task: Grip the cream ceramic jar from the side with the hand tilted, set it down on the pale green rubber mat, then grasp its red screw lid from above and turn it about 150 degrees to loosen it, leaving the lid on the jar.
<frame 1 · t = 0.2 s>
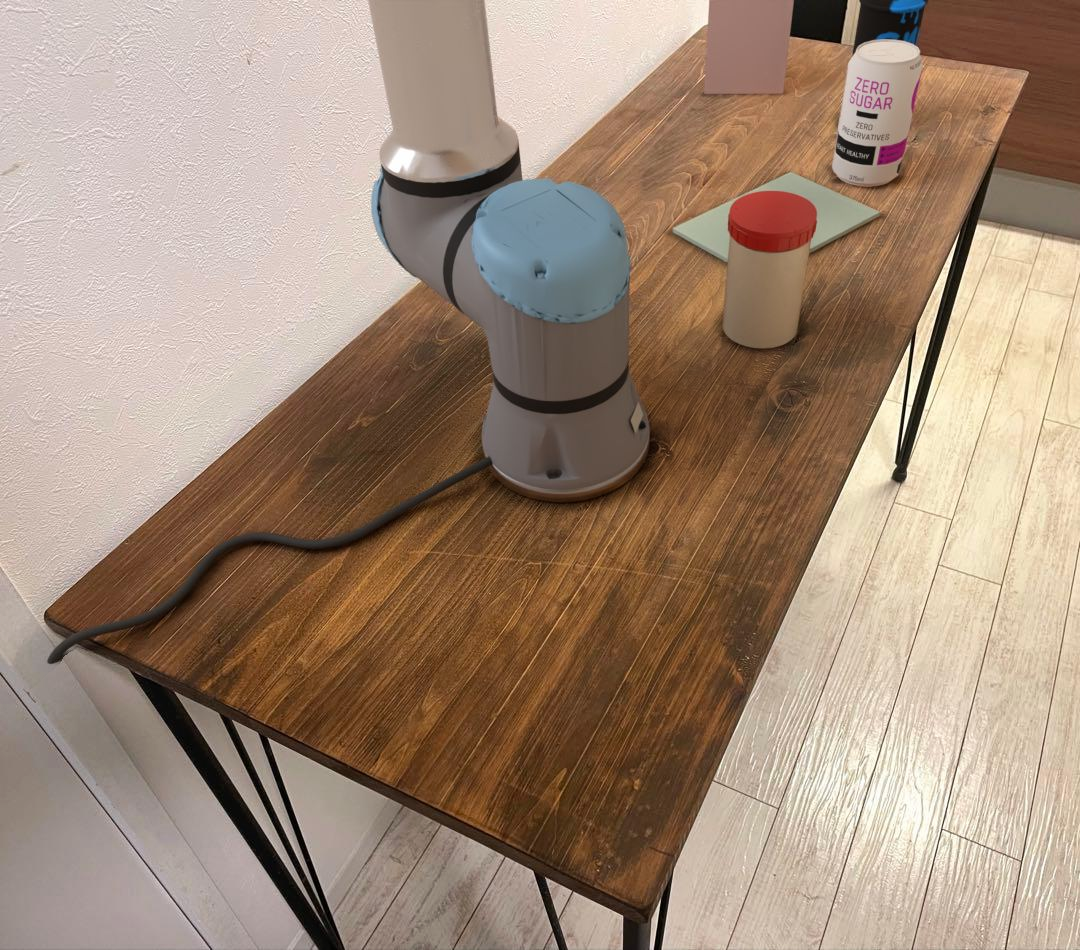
white soda can: (864, 174, 116), on the table
greeting card: (739, 92, 136), on the table
mat: (775, 224, 108), on the table
jar: (759, 326, 95), on the table
aerosol can: (870, 123, 126), on the table
lid: (772, 216, 86), point 13 cm above the table, screwed on, not yet turned
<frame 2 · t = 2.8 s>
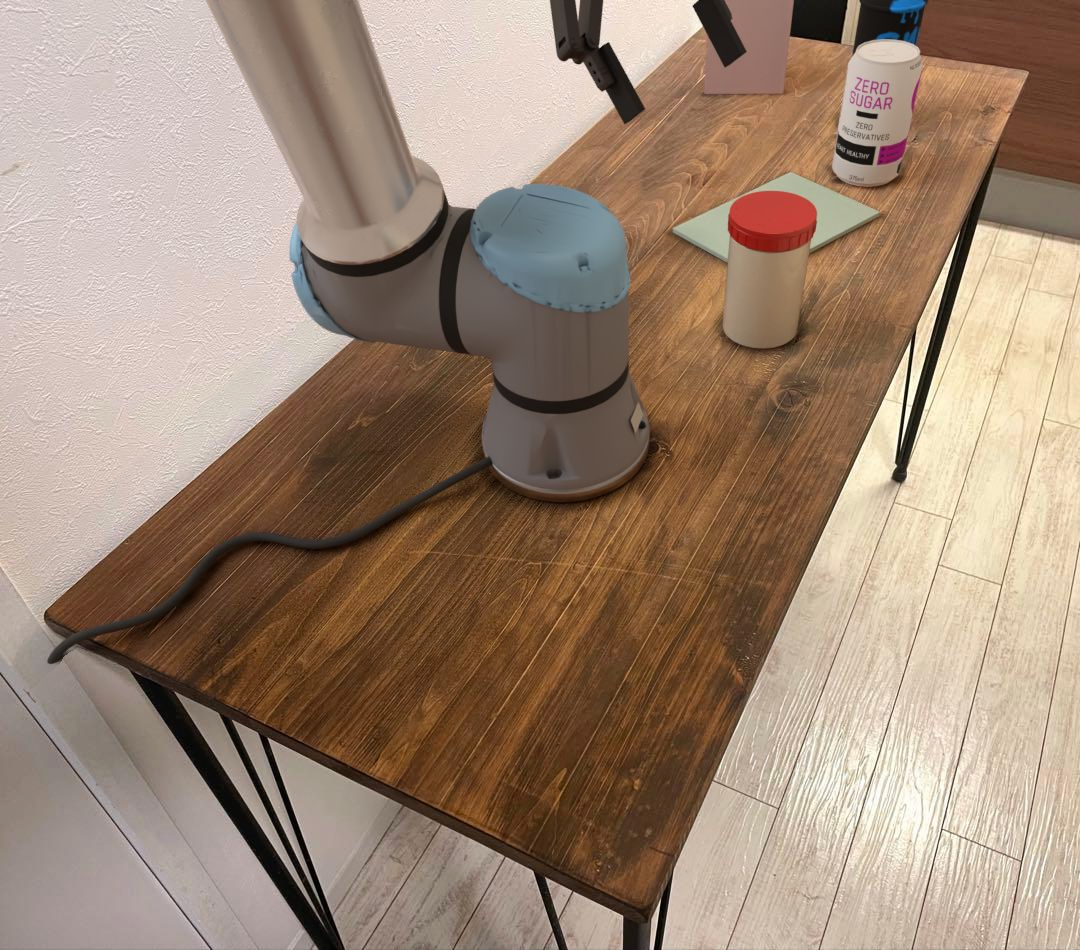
hand: (687, 88, 86), 22 cm above the table, tool tilted 40°, fingers open, 13 cm apart
nothing on the table moved.
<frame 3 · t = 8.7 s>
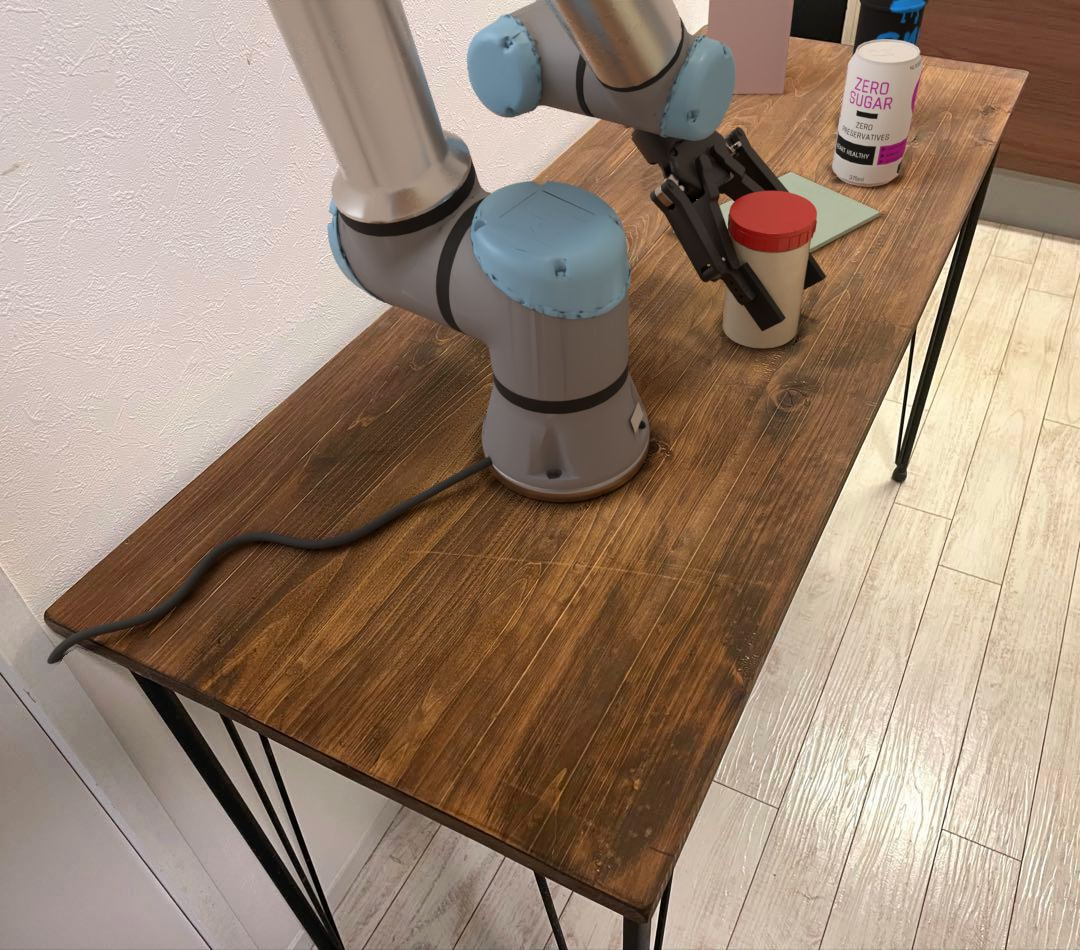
hand: (794, 303, 90), 4 cm above the table, tool tilted 45°, fingers closed on jar, 8 cm apart
jar: (759, 326, 95), on the table, touching gripper
everything else where it was.
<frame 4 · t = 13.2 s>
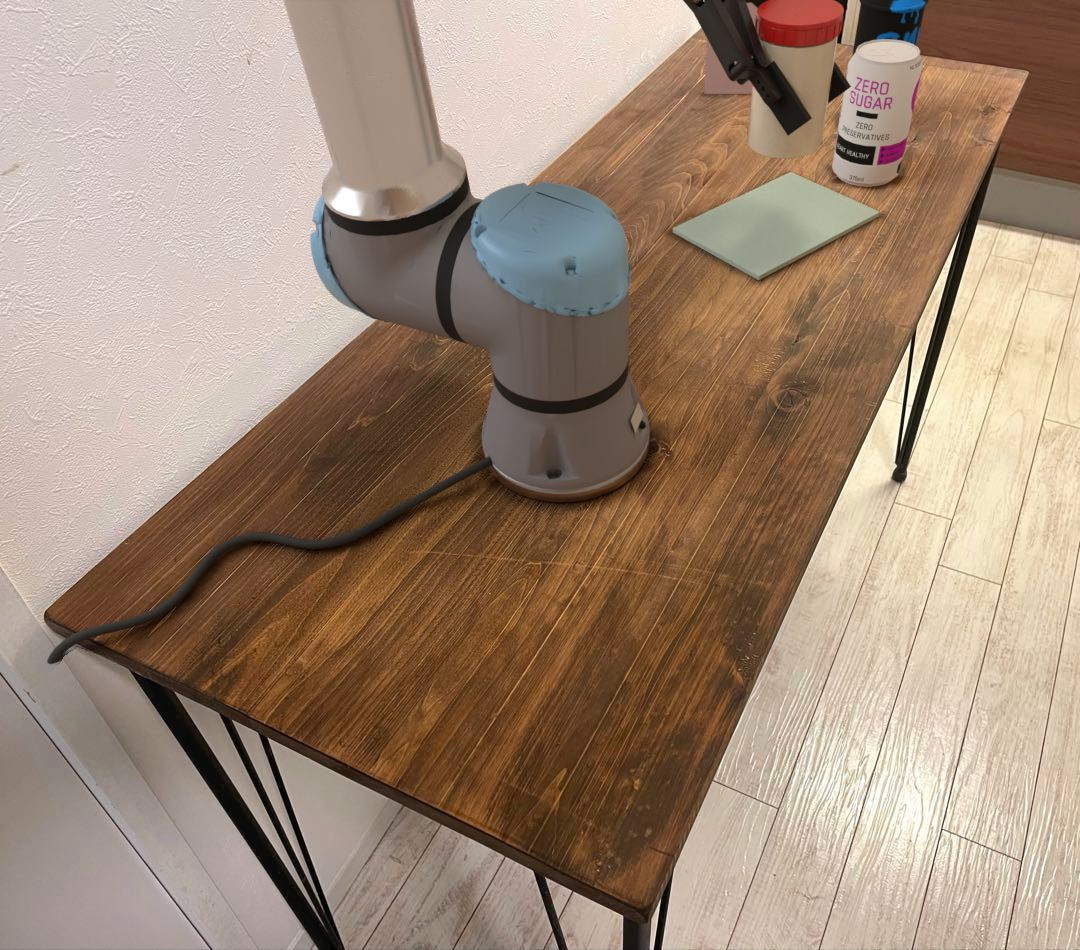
hand: (819, 110, 91), 17 cm above the table, tool tilted 45°, fingers closed on jar, 8 cm apart
jar: (784, 142, 96), point 13 cm above the table, touching gripper
lid: (799, 15, 87), point 25 cm above the table, screwed on, not yet turned
everything else where it was.
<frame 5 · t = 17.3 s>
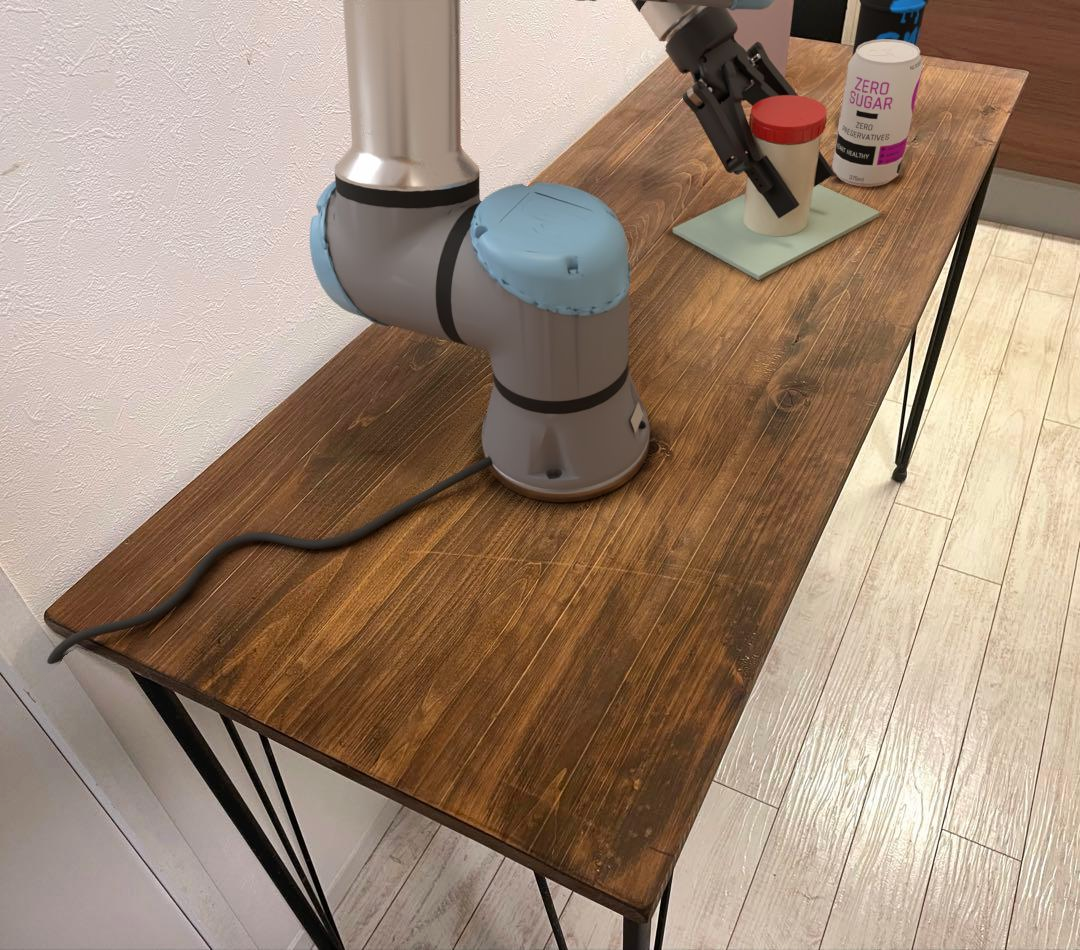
hand: (806, 195, 104), 5 cm above the table, tool tilted 45°, fingers closed on jar, 8 cm apart
jar: (775, 219, 108), point 1 cm above the table, touching gripper, mat
lid: (788, 114, 99), point 13 cm above the table, screwed on, not yet turned
everything else where it was.
when the fingers open (5 cm above the table, at t = 17.5 s): jar stays where it is, resting on mat.
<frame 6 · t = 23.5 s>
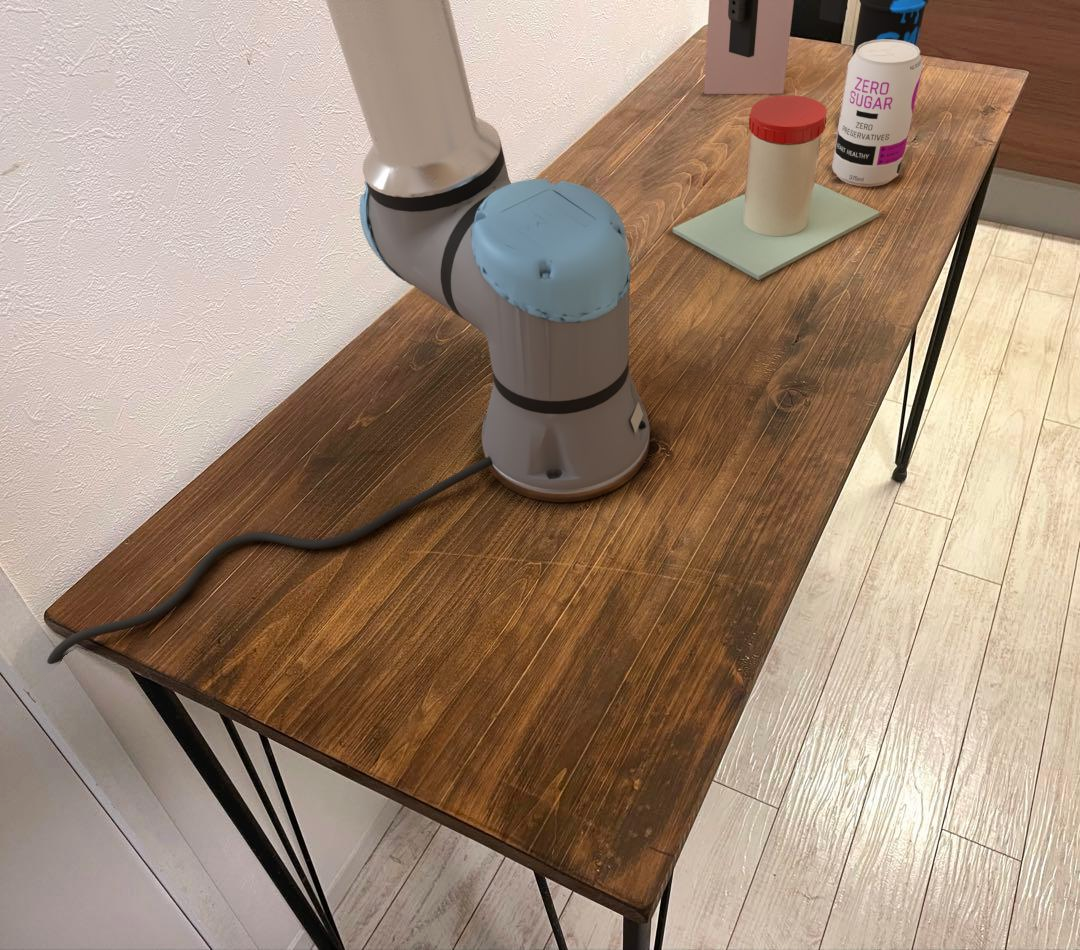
hand: (787, 37, 94), 21 cm above the table, tool pointing down, fingers open, 13 cm apart
jar: (775, 219, 108), point 1 cm above the table, touching mat
everything else where it was.
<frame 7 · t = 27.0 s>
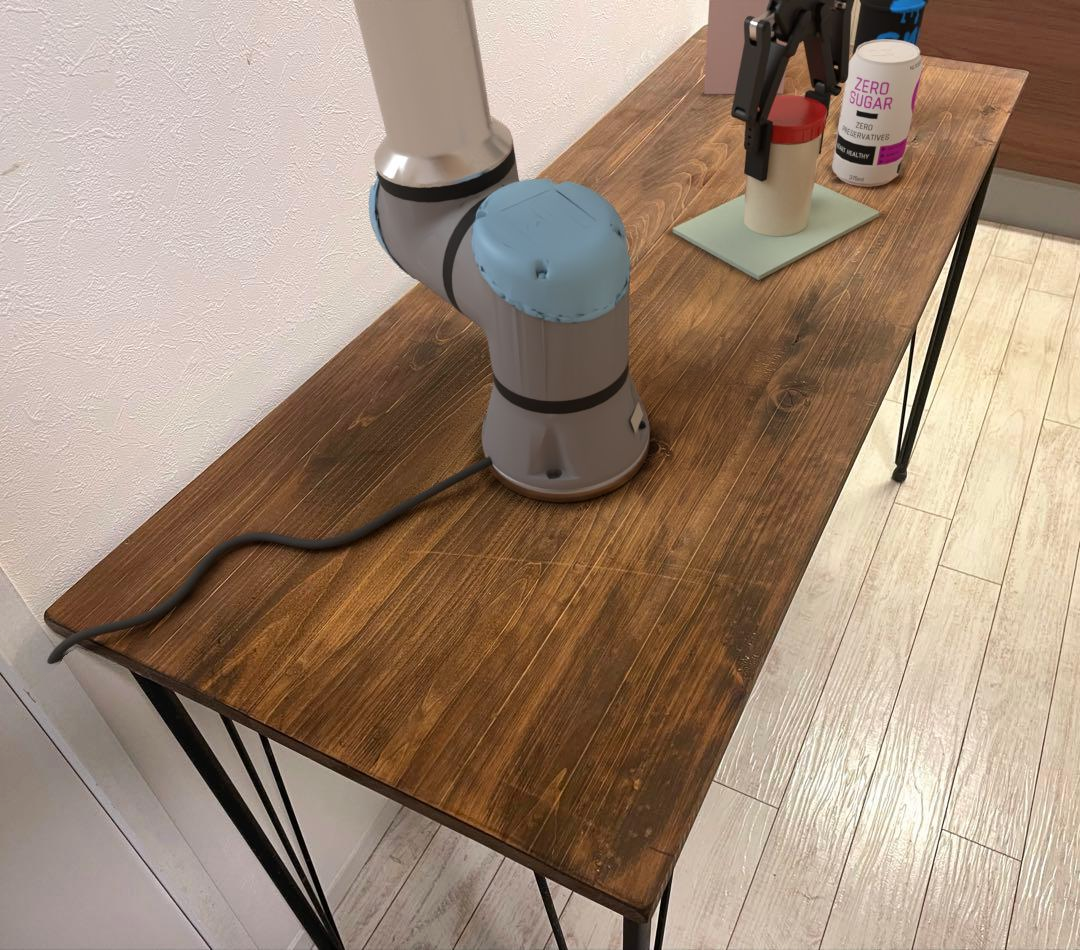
hand: (782, 163, 103), 8 cm above the table, tool pointing down, fingers closed on lid, 8 cm apart
lid: (788, 114, 99), point 13 cm above the table, screwed on, not yet turned, touching gripper
everything else where it was.
when the fingers open (8 cm above the table, at t = 30.8 s): lid stays where it is, point 13 cm above the table.
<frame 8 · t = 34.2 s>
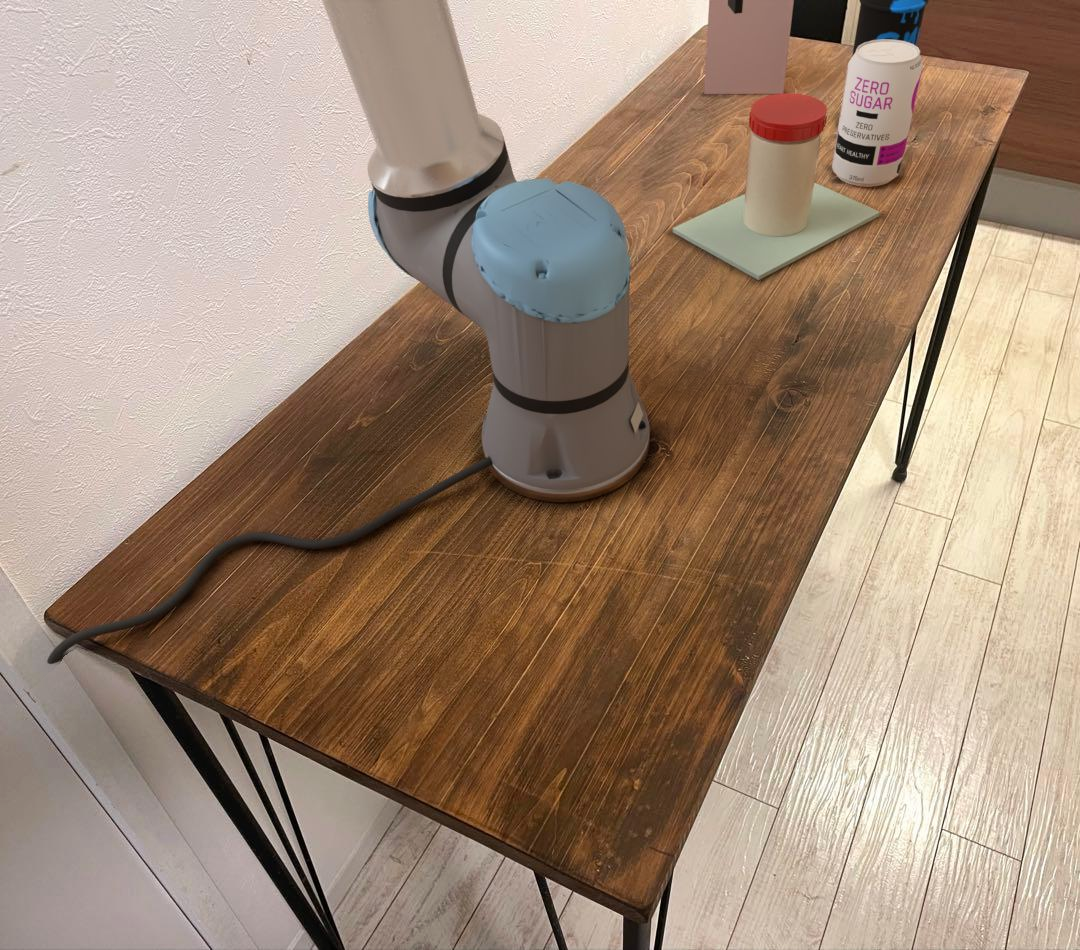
hand: (802, 1, 91), 25 cm above the table, tool pointing down, fingers open, 13 cm apart
lid: (788, 113, 99), point 13 cm above the table, turned 150° so far, risen 0.2 cm, still on its thread
everything else where it was.
at the end: jar inside the target area on the mat (0.1 cm from its centre), point 0.6 cm above the mat's base; lid turned 0.42 turns (still on its thread); lid is still on its thread (0.42 turns) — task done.
